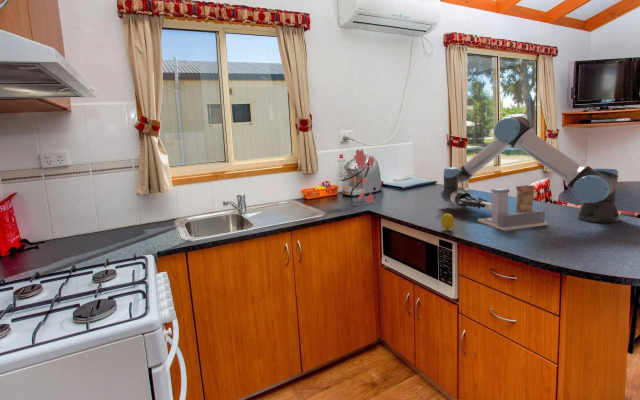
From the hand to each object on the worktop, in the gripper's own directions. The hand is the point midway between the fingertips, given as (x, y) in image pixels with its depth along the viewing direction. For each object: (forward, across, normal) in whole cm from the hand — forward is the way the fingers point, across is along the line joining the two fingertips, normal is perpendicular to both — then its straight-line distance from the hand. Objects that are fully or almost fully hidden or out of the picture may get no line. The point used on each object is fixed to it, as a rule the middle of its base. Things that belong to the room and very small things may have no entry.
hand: (491, 206), depth 169 cm
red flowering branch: (-73, +39, -8) cm, 83 cm away
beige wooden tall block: (+6, -13, -6) cm, 16 cm away
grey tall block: (+6, 0, -6) cm, 8 cm away
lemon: (+4, +25, -8) cm, 27 cm away
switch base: (+5, -7, -7) cm, 11 cm away
